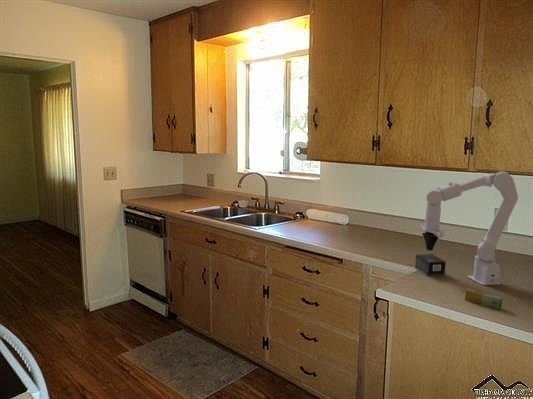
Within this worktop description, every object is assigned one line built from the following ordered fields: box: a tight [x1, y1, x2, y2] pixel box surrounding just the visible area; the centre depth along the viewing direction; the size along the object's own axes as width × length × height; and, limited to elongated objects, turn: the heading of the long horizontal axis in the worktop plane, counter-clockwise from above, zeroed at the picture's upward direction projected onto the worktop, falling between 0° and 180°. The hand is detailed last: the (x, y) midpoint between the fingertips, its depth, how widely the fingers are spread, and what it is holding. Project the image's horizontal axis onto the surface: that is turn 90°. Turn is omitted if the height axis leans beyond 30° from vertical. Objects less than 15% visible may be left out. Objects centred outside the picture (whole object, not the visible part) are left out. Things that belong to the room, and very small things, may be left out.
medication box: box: [464, 288, 505, 311], centre depth 145 cm, size 12×3×4 cm, turn 45°
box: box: [414, 253, 447, 276], centre depth 177 cm, size 8×6×11 cm
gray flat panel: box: [414, 266, 445, 276], centre depth 177 cm, size 9×8×1 cm
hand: (429, 249), depth 177 cm, fingers closed
